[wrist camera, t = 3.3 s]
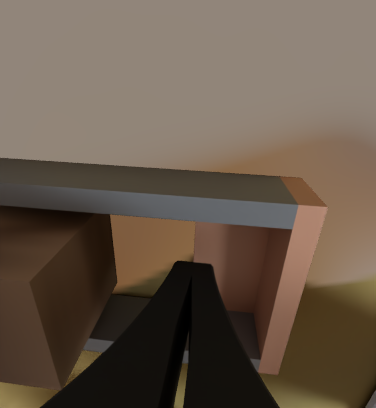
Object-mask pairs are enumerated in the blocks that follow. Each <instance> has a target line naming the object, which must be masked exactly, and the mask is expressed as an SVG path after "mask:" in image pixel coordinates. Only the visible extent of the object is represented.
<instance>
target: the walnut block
mask: <svg viewBox="0 0 376 408" xmlns="http://www.w3.org/2000/svg"><path fill="white" fill-rule="evenodd" d="M116 284H117V275H116V265H115V255H114V247H113V237H112V227H111V218H110V214H100V213H88V212H76V211H64V210H52V209H40V208H28V207H16V206H4V205H0V382H5V383H12V384H19V385H26V386H33V387H40V388H47V389H54V390H62V389H63V387H64V385H65V383H66V381H67V379H68V377H69V375H70V373H71V372H72V370H73V368H74V366H75V364H76V362H77V360H78V358H79V356H80V354H81V352H82V350H83V348H84V346H85V344H86V342H87V340H88V338H89V336H90V334H91V333H92V331H93V329H94V327H95V325H96V323H97V321H98V319H99V317H100V315H101V313H102V311H103V309H104V307H105V305H106V303H107V301H108V299H109V297H110V295H111V294H112V292H113V290H114V288H115V286H116Z"/></svg>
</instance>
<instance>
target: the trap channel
mask: <svg viewBox="0 0 376 408" xmlns="http://www.w3.org/2000/svg"><path fill="white" fill-rule="evenodd" d="M0 205H4V206H16V207H28V208H40V209H52V210H64V211H76V212H88V213H100V214H112V215H125V216H136V217H150V218H161V219H173V220H185V221H196V226H195V244H194V262H198V263H208V264H211V265H212V266H213V267H214V274H215V278H216V282H217V285H218V289H219V292H220V295H221V297H222V300H223V303H224V305H225V308H226V310H227V313H228V315H229V317H230V320H231V322H232V324H233V326H234V328H235V331H236V333H237V335H238V337H239V339H240V341H241V343H242V345H243V347H244V349H245V351H246V353H247V354H248V356H249V358H250V360H251V362H252V363H253V365H254V367H255V369H256V371H257V372H258V373H265V374H273V375H278V373H279V369H280V366H281V363H282V359H283V356H284V353H285V349H286V346H287V343H288V339H289V336H290V333H291V329H292V326H293V323H294V319H295V316H296V313H297V309H298V306H299V302H300V299H301V296H302V292H303V289H304V286H305V282H306V279H307V276H308V272H309V269H310V266H311V262H312V259H313V256H314V252H315V249H316V246H317V242H318V239H319V236H320V232H321V229H322V226H323V222H324V219H325V216H326V212H327V209H328V207H327V205H326V204H325V203H324V202H323V201H322V200H321V199H320V198H319V197H318V196H317V194H316V193H315V192H314V191H313V190H312V189H311V188H310V187H309V186H308V185H307V184H306V182H305V181H304V180H303V179H302V178H295V177H280V176H279V177H278V176H265V175H250V174H235V173H220V172H204V171H189V170H173V169H159V168H143V167H127V166H114V165H99V164H83V163H68V162H54V161H39V160H38V161H37V160H23V159H8V158H0ZM150 300H151V299H150V298H141V297H132V296H123V295H113V294H111V295H110V297H109V299H108V301H107V303H106V305H105V307H104V309H103V311H102V313H101V315H100V317H99V319H98V321H97V323H96V325H95V327H94V329H93V331H92V333H91V334H90V336H89V338H88V340H87V342H86V344H85V346H84V348H83V350H87V351H95V352H104V351H105V350H106V349H107V348H108V347H109V346H110V345H111V344H112V343H113V342H114V341H115V340H116V339H117V338H118V337H119V336H120V335H121V334H122V333H123V332H124V331H125V330H126V329H127V327H128V326H129V325H130V324H131V323H132V322H133V321H134V320H135V318H136V317H137V316H138V315H139V313H140V312H141V311H142V310H143V309H144V307H145V306H146V305H147V304H148V303H149V301H150ZM188 347H189V332H188V337H187V342H186V347H185V352H184V357H183V362H182V363H188Z"/></svg>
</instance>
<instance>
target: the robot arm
mask: <svg viewBox="0 0 376 408" xmlns="http://www.w3.org/2000/svg"><path fill="white" fill-rule="evenodd" d="M188 332H189V347H188V371H187V379H186V388H185V396H184V405H183V408H280V407H279V406H278V404H277V403H276V401H275V400H274V398H273V397H272V395H271V394H270V392H269V391H268V389H267V387H266V386H265V384H264V382H263V381H262V379H261V377H260V376H259V374H258V372H257V371H256V369H255V367H254V365H253V363H252V362H251V360H250V358H249V356H248V354H247V353H246V351H245V349H244V347H243V345H242V343H241V341H240V339H239V337H238V335H237V333H236V331H235V328H234V326H233V324H232V322H231V320H230V317H229V315H228V313H227V310H226V308H225V305H224V303H223V300H222V297H221V295H220V292H219V289H218V285H217V282H216V278H215V274H214V267H213V266H212V265H211V264H208V263H198V262H187V261H177V262H175V263H174V265H173V267H172V269H171V271H170V272H169V274H168V276H167V277H166V279H165V280H164V282H163V283H162V285H161V286H160V288H159V289H158V290H157V292H156V293H155V294H154V296H153V297H152V299H151V300H150V301H149V303H148V304H147V305H146V306H145V307H144V309H143V310H142V311H141V312H140V313H139V315H138V316H137V317H136V318H135V320H134V321H133V322H132V323H131V324H130V325H129V326H128V327H127V329H126V330H125V331H124V332H123V333H122V334H121V335H120V336H119V337H118V338H117V339H116V340H115V341H114V342H113V343H112V344H111V345H110V346H109V347H108V348H107V349H106V350H105V351H104V352H103V353H102V354H101V355H100V356H99V357H98V358H97V359H96V360H95V361H94V362H93V363H92V364H91V365H90V366H89V367H87V368H86V369H85V370H84V371H83V372H82V373H81V374H80V375H79V376H77V377H76V378H75V379H74V380H73V381H72V382H70V383H69V384H68V385H67V386H66V387H64V388H63V389H62V390H61V391H59V392H58V393H57V394H56V395H55V396H53V397H52V398H51V399H50V400H49V401H47V402H46V403H45V404H44V405H43V406H41V407H40V408H173V407H174V402H175V396H176V391H177V386H178V381H179V376H180V372H181V367H182V362H183V357H184V352H185V347H186V342H187V337H188ZM365 408H376V390H375V392H374V394H373V396H372V397H371V399H370V401H369V402H368V404H367V406H366V407H365Z"/></svg>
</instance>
